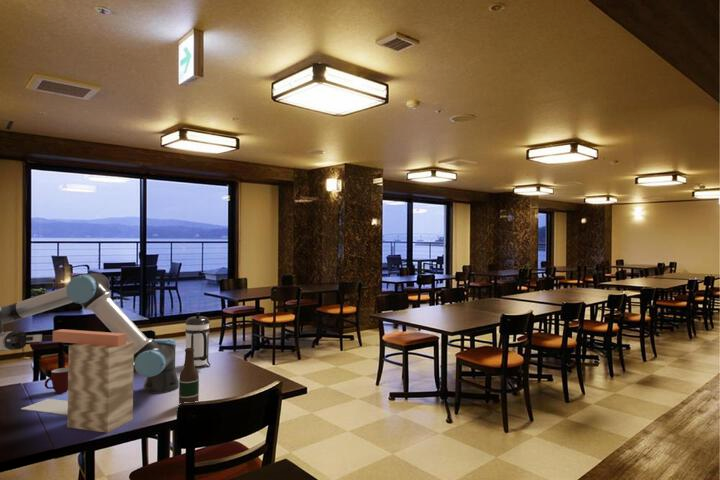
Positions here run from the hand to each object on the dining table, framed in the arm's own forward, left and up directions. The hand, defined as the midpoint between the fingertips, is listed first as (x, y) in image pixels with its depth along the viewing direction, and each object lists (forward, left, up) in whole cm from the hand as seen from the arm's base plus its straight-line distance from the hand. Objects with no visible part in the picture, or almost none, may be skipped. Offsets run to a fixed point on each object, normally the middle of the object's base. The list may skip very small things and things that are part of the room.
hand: (56, 337), depth 180 cm
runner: (-3, -2, -30) cm, 30 cm away
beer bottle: (-51, +12, -30) cm, 60 cm away
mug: (+4, -24, -30) cm, 38 cm away
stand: (-20, +21, -30) cm, 41 cm away
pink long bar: (-15, +18, 0) cm, 23 cm away
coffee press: (-56, -49, -30) cm, 80 cm away
